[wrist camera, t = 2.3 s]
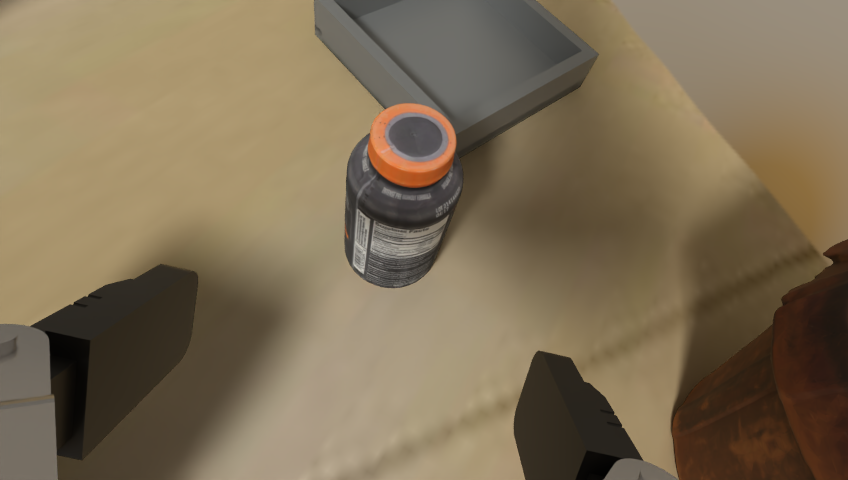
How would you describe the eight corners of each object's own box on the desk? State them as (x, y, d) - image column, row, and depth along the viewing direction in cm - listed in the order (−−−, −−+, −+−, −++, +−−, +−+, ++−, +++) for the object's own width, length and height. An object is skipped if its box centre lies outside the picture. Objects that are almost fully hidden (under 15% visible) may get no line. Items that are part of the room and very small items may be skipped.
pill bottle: (372, 195, 34) (389, 66, 24) (449, 234, 33) (498, 119, 23) (325, 262, 31) (322, 146, 21) (409, 307, 30) (446, 210, 21)
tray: (315, 34, 40) (313, -5, 37) (458, -21, 47) (467, -58, 44) (441, 168, 36) (451, 137, 33) (580, 86, 42) (598, 54, 39)
